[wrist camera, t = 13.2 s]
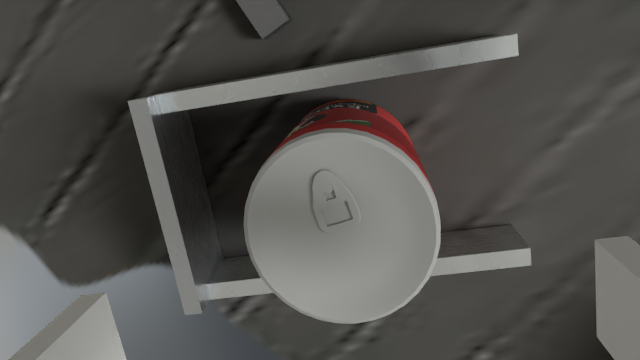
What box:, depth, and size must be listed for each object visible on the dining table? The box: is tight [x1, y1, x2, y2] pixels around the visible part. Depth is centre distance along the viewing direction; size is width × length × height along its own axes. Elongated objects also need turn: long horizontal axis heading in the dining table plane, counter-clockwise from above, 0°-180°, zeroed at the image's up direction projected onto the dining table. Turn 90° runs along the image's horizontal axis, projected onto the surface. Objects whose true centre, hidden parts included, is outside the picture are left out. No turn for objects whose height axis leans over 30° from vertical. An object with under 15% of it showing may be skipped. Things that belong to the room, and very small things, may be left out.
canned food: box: [244, 99, 441, 323], centre depth 24 cm, size 8×8×11 cm
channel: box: [128, 34, 531, 315], centre depth 27 cm, size 12×19×5 cm, turn 99°
